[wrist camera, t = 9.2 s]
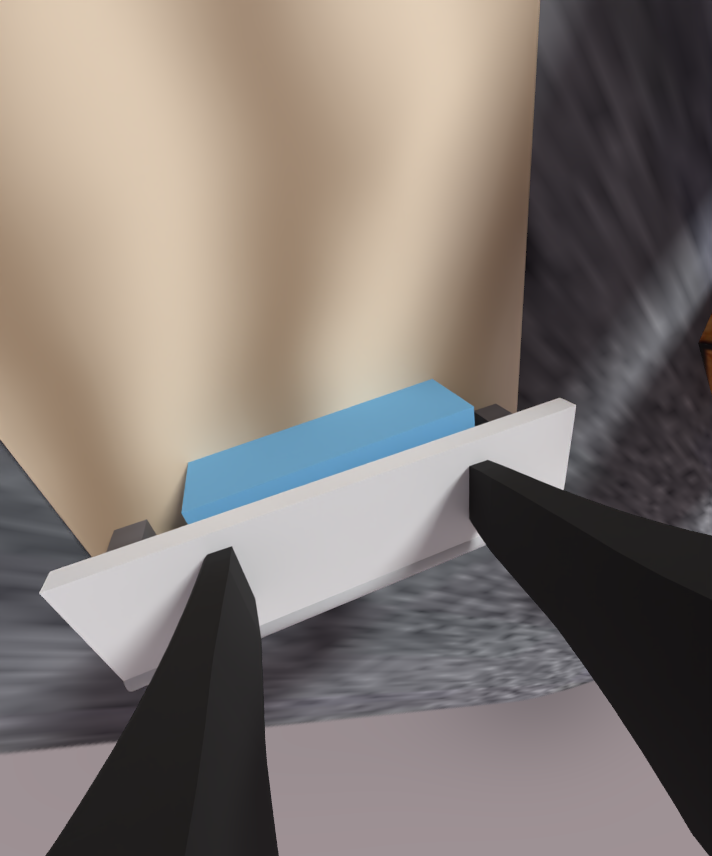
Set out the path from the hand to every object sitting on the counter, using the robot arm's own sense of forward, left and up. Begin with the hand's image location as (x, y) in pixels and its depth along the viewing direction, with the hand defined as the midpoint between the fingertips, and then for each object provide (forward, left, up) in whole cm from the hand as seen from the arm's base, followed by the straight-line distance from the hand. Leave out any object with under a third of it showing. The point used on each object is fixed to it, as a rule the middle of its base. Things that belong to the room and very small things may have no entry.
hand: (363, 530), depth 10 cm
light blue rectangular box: (0, +1, -4) cm, 4 cm away
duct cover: (0, 0, -1) cm, 1 cm away
